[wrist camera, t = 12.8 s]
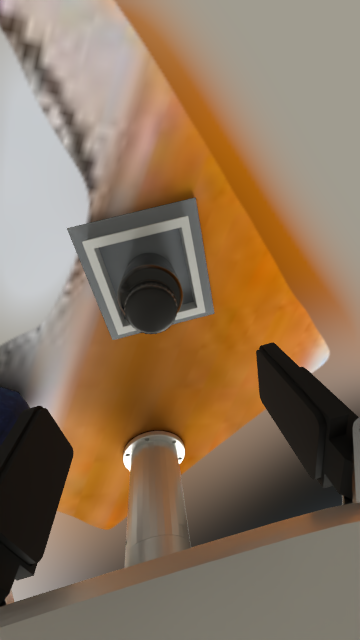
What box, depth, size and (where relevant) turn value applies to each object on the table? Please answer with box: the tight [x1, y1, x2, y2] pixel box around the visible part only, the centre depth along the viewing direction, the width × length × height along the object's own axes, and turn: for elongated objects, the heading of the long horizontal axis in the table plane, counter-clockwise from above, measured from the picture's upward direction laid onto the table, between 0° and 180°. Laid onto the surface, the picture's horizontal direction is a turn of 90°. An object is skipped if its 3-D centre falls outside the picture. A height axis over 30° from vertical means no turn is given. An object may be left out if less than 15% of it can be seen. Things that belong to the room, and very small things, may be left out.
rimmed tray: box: [67, 198, 214, 340], centre depth 30 cm, size 16×16×4 cm
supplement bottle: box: [118, 253, 183, 334], centre depth 25 cm, size 7×7×12 cm
